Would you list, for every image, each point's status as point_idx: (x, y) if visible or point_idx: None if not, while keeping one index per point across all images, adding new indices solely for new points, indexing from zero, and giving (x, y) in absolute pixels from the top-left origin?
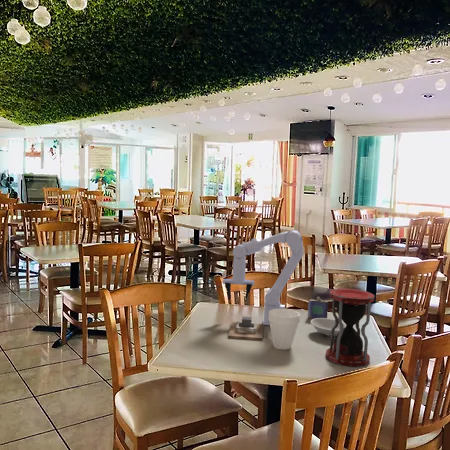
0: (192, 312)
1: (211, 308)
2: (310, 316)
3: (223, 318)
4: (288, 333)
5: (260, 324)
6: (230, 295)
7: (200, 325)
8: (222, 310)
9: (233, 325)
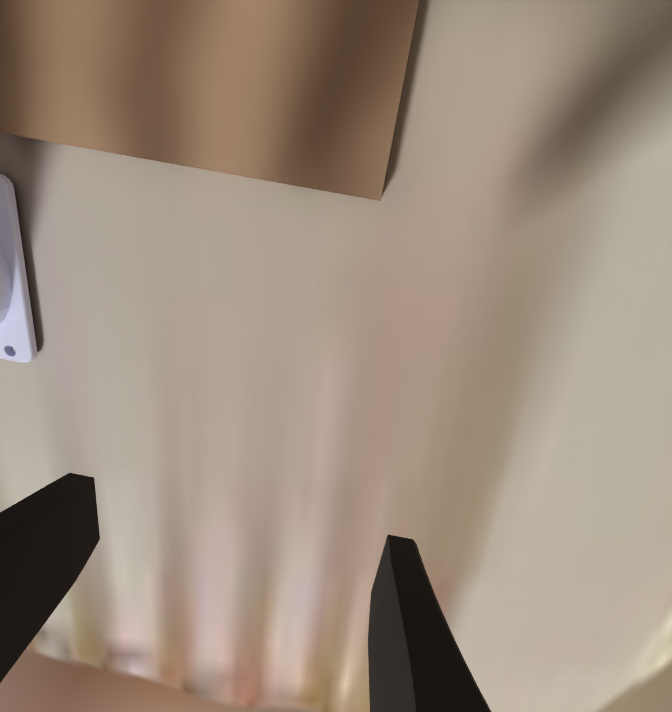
0: None
1: (497, 651)
2: None
3: (441, 402)
4: None
5: (13, 105)
6: (374, 651)
7: None
8: None
9: (374, 21)
